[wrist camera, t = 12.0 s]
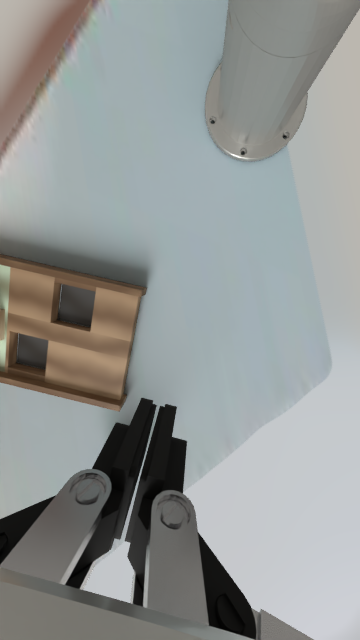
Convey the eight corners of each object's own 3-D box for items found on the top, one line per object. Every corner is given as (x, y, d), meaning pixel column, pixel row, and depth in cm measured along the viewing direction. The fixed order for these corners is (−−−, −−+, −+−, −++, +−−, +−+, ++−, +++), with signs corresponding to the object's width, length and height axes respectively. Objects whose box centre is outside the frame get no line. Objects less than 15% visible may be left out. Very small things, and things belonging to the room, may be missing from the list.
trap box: (-24, 248, 40) (-55, 246, 35) (146, 287, 39) (139, 291, 34) (-26, 363, 45) (-54, 375, 40) (125, 399, 44) (116, 417, 39)
